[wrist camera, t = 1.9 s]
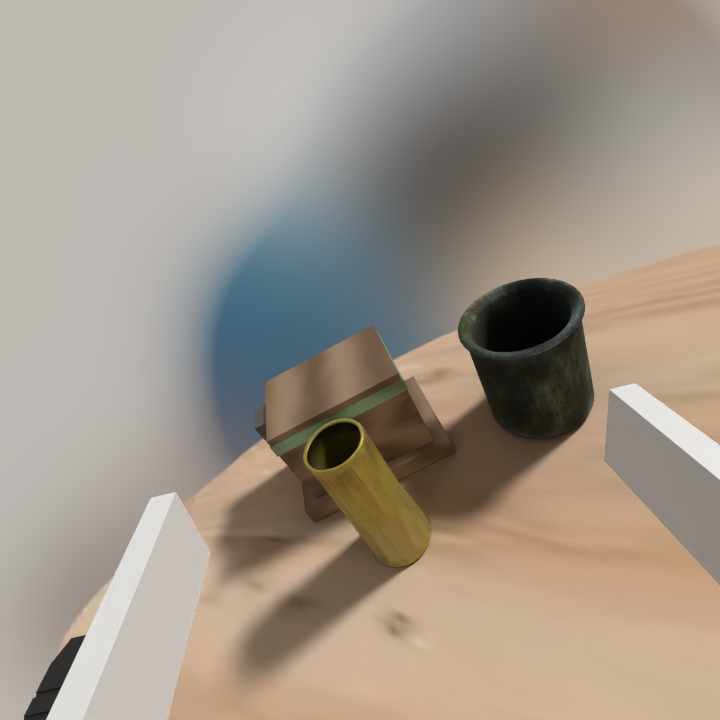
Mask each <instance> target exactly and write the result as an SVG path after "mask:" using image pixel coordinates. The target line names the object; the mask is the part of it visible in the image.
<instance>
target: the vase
mask: <svg viewBox="0 0 720 720" xmlns="http://www.w3.org/2000/svg"><path fill="white" fill-rule="evenodd" d="M303 460H304V464H305V466H306V467H307V468H308V470H309V471H310V472H311V473H312V474H313V475H314V477H315V478H316V479H317V480H318V481H319V482H320V484H321V485H322V486H323V487H324V488H325V490H326V491H327V492H328V494H329V495H330V496H331V497H332V499H333V500H334V501H335V503H336V504H337V505H338V506H339V508H340V509H341V510H342V512H343V513H344V514H345V515H346V517H347V518H348V520H349V521H350V522H351V524H352V525H353V526H354V528H355V529H356V531H357V532H358V533H359V535H360V536H361V537H362V539H363V540H364V541H365V542H366V544H367V545H368V546H369V548H370V549H371V550H372V552H373V554H374V555H375V557H376V558H377V559H378V560H379V561H380V562H381V563H383V564H385V565H387V566H390V567H401V566H406V565H409V564H411V563H412V562H414V561H415V560H417V559H418V558H419V557H420V556H421V555H422V554H423V553H424V551H425V550H426V548H427V546H428V544H429V540H430V533H431V527H430V522H429V520H428V518H427V516H426V514H425V513H424V512H423V511H422V510H421V509H420V508H419V506H418V505H417V504H416V503H415V502H414V500H413V499H412V498H411V497H410V495H409V494H408V493H407V492H406V491H405V489H404V488H403V487H402V486H401V485H400V483H399V482H398V481H397V479H396V478H395V476H394V474H393V473H392V471H391V470H390V468H389V466H388V465H387V463H386V462H385V460H384V459H383V457H382V455H381V454H380V453H379V451H378V449H377V448H376V446H375V445H374V443H373V442H372V440H371V439H370V437H369V436H368V434H367V432H366V431H365V429H364V428H363V426H362V425H361V424H360V423H358V422H357V421H355V420H352V419H347V418H343V419H337V420H333V421H331V422H329V423H327V424H325V425H323V426H322V427H320V428H319V429H318V430H317V431H316V432H315V433H314V434H313V435H312V436H311V438H310V439H309V441H308V442H307V444H306V447H305V450H304V453H303Z"/></svg>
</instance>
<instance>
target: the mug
mask: <svg viewBox="0 0 720 720" xmlns="http://www.w3.org/2000/svg"><path fill="white" fill-rule="evenodd" d="M584 312H585V303H584V299H583V297H582V295H581V293H580V292H579V291H578V290H577V289H576V288H575V287H573V286H572V285H570V284H568V283H566V282H563V281H559V280H556V279H549V278H534V279H525V280H519V281H515V282H511V283H508V284H505V285H502V286H500V287H497V288H495V289H493V290H491V291H489V292H488V293H486V294H484V295H483V296H481V297H480V298H478V299H477V300H476V301H474V302H473V304H471V305H470V306H469V307H468V309H467V310H466V311H465V312H464V314H463V315H462V317H461V319H460V322H459V326H458V335H459V339H460V341H461V343H462V344H463V346H464V347H465V348H466V349H467V350H469V352H470V355H471V357H472V360H473V362H474V365H475V368H476V370H477V373H478V376H479V378H480V381H481V384H482V386H483V389H484V392H485V394H486V397H487V399H488V402H489V405H490V407H491V410H492V413H493V415H494V417H495V419H496V420H497V422H498V423H499V424H500V425H501V426H502V427H503V428H505V429H506V430H508V431H510V432H512V433H514V434H517V435H520V436H523V437H528V438H549V437H554V436H558V435H561V434H564V433H566V432H568V431H570V430H571V429H573V428H574V427H576V426H577V425H578V424H579V423H581V422H582V421H583V420H584V419H585V418H586V416H587V415H588V414H589V412H590V410H591V408H592V406H593V402H594V390H593V384H592V378H591V373H590V367H589V361H588V355H587V349H586V343H585V337H584V331H583V325H582V318H583V316H584Z"/></svg>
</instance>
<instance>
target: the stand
mask: <svg viewBox="0 0 720 720" xmlns="http://www.w3.org/2000/svg"><path fill="white" fill-rule="evenodd" d="M343 418H347V419H352V420H355V421H357V422H358V423H360V424H361V425H362V426H363V428H364V429H365V431H366V432H367V434H368V436H369V437H370V439H371V440H372V442H373V443H374V445H375V446H376V448H377V449H378V451H379V453H380V454H381V455H382V457H383V459H384V460H385V462H386V463H387V465H388V466H389V468H390V470H391V471H392V473H393V474H394V476H395V478H396V479H397V481H398V480H400V479H402V478H404V477H406V476H408V475H410V474H412V473H414V472H416V471H418V470H420V469H422V468H424V467H426V466H428V465H430V464H432V463H434V462H436V461H438V460H440V459H442V458H444V457H446V456H448V455H450V454H452V453H454V452H456V451H455V449H454V447H453V445H452V443H451V441H450V439H449V437H448V436H447V434H446V432H445V430H444V429H443V427H442V425H441V423H440V422H439V420H438V418H437V417H436V415H435V413H434V411H433V410H432V408H431V406H430V404H429V403H428V401H427V399H426V397H425V396H424V394H423V392H422V391H421V389H420V387H419V385H418V384H417V382H416V380H415V378H414V377H412V378H410V379H408V380H406V381H404V380H403V378H402V376H401V375H400V373H399V371H398V369H397V367H396V365H395V363H394V362H393V360H392V358H391V356H390V354H389V352H388V351H387V348H386V347H385V345H384V343H383V341H382V339H381V337H380V335H379V334H378V332H377V330H375V328H374V326H373V325H372V326H370V327H368V328H367V329H365V330H363V331H361V332H359V333H357V334H355V335H353V336H352V337H350V338H348V339H346V340H344V341H342V342H340V343H338V344H336V345H335V346H333V347H331V348H329V349H327V350H325V351H323V352H321V353H320V354H318V355H316V356H314V357H312V358H310V359H308V360H306V361H305V362H303V363H301V364H299V365H297V366H295V367H293V368H291V369H290V370H288V371H286V372H284V373H282V374H280V375H278V376H276V377H274V378H272V379H271V380H269V381H267V382H265V406H263V407H261V408H259V409H257V410H255V429H256V430H257V432H258V433H259V434H260V435H261V436H262V437H263V438H264V440H265V441H266V440H267V443H268V444H269V445H270V448H271V449H272V450H273V452H274V453H275V454H276V455H277V456H278V457H279V456H280V457H281V458H282V460H283V461H284V462H285V463H286V464H287V465H288V466H289V468H290V469H291V470H292V471H293V472H294V473H295V474H296V476H297V477H298V478H299V479H300V480H301V481H302V486H303V494H304V502H305V510H306V513H307V514H308V515H309V517H310V518H311V519H312V520H313V521H314V522H317V521H319V520H321V519H323V518H324V517H326V516H328V515H330V514H332V513H334V512H336V511H338V510H340V508H339V506H338V505H337V504H336V503H335V501H334V500H333V499H332V497H331V496H330V495H329V494H328V492H327V491H326V490H325V488H324V487H323V486H322V485H321V484H320V482H319V481H318V480H317V479H316V478H315V477H314V475H313V474H312V473H311V472H310V471H309V470H308V468H307V467H306V466H305V464H304V460H303V453H304V450H305V447H306V444H307V442H308V441H309V439H310V438H311V436H312V435H313V434H314V433H315V432H316V431H317V430H318V429H319V428H320V427H322V426H323V425H325V424H327V423H329V422H331V421H333V420H337V419H343Z"/></svg>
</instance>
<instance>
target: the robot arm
mask: <svg viewBox="0 0 720 720" xmlns="http://www.w3.org/2000/svg"><path fill="white" fill-rule="evenodd" d="M604 461H605V462H606V463H607V464H608V465H609V466H610V467H611V468H612V469H613V470H614V471H615V472H616V473H617V475H618V476H619V477H620V478H621V479H622V480H623V481H624V482H625V483H626V484H627V485H628V486H629V487H630V489H631V490H632V491H633V492H634V493H635V494H636V495H637V496H638V497H639V498H640V499H641V500H642V502H643V503H644V504H645V505H646V506H647V507H648V508H649V509H650V510H651V511H652V512H653V513H654V514H655V516H656V517H657V518H658V519H659V520H660V521H661V522H662V523H663V524H664V525H665V526H666V527H667V529H668V530H669V531H670V532H671V533H672V534H673V535H674V536H675V537H676V538H677V539H678V540H679V541H680V543H681V544H682V545H683V546H684V547H685V548H686V549H687V550H688V551H689V552H690V553H691V554H692V556H693V557H694V558H695V559H696V560H697V561H698V562H699V563H700V564H701V565H702V566H703V567H704V568H705V570H706V571H707V572H708V573H709V574H710V575H711V576H712V577H713V578H714V579H715V580H716V581H717V583H718V584H719V585H720V445H718V444H717V443H716V442H714V441H713V440H712V439H710V438H709V437H708V436H706V435H705V434H704V433H702V432H701V431H699V430H698V429H697V428H695V427H694V426H693V425H691V424H690V423H689V422H687V421H686V420H684V419H683V418H682V417H680V416H679V415H678V414H676V413H675V412H674V411H672V410H671V409H669V408H668V407H667V406H665V405H664V404H663V403H661V402H660V401H659V400H657V399H656V398H654V397H653V396H652V395H650V394H649V393H648V392H646V391H645V390H644V389H642V388H641V387H639V386H638V385H637V384H635V383H634V384H630V385H626V386H622V387H617V388H613V389H609V402H608V417H607V431H606V446H605V460H604ZM210 554H211V552H210V550H209V549H208V547H207V545H206V543H205V542H204V540H203V538H202V536H201V535H200V533H199V531H198V530H197V528H196V526H195V524H194V523H193V521H192V519H191V517H190V516H189V514H188V512H187V510H186V509H185V507H184V505H183V504H182V502H181V500H180V498H179V497H178V495H177V493H176V492H174V493H170V494H165V495H161V496H157V497H153V498H151V499H150V501H149V503H148V505H147V507H146V510H145V512H144V514H143V516H142V518H141V520H140V522H139V525H138V526H137V529H136V531H135V533H134V535H133V537H132V539H131V541H130V543H129V546H128V548H127V550H126V552H125V554H124V556H123V558H122V561H121V562H120V565H119V567H118V569H117V571H116V573H115V575H114V577H113V579H112V581H111V584H110V586H109V588H108V590H107V592H106V594H105V596H104V598H103V600H102V603H101V605H100V607H99V609H98V611H97V613H96V615H95V617H94V619H93V622H92V624H91V626H90V628H89V630H88V632H87V634H86V635H84V636H80V637H75V638H71V640H70V641H69V642H68V643H67V645H66V646H65V647H64V648H63V650H62V651H61V652H60V653H59V655H58V656H57V657H56V658H55V660H54V661H53V662H52V663H51V665H50V667H49V669H48V671H47V672H46V674H45V676H44V678H43V680H42V682H41V684H40V686H39V688H38V690H37V692H36V694H37V695H36V697H35V698H33V700H32V702H31V703H30V705H29V707H28V710H27V711H26V713H25V715H24V720H167V719H168V715H169V711H170V707H171V704H172V700H173V696H174V692H175V688H176V684H177V681H178V677H179V673H180V669H181V665H182V661H183V658H184V654H185V650H186V646H187V642H188V638H189V635H190V631H191V627H192V623H193V619H194V615H195V612H196V608H197V604H198V600H199V596H200V592H201V589H202V585H203V581H204V577H205V573H206V569H207V565H208V562H209V558H210Z"/></svg>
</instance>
